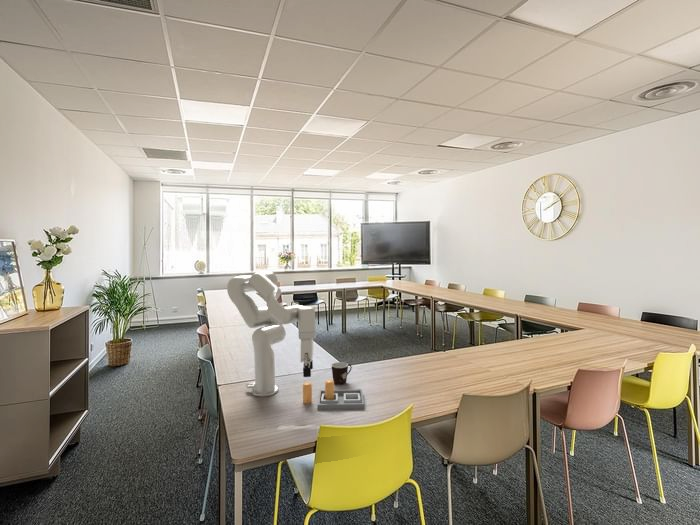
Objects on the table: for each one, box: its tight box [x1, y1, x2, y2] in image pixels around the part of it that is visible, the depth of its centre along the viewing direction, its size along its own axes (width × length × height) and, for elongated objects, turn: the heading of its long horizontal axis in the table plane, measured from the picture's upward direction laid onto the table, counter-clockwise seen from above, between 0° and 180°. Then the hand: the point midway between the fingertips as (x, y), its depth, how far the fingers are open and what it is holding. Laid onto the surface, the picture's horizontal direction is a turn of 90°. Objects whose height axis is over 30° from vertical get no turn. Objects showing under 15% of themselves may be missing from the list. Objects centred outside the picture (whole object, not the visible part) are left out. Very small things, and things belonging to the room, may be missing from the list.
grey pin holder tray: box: [316, 389, 365, 411], centre depth 153 cm, size 20×15×3 cm
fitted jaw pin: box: [324, 379, 335, 400], centre depth 152 cm, size 4×4×9 cm
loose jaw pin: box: [302, 381, 313, 405], centre depth 152 cm, size 4×4×9 cm
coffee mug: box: [330, 361, 353, 386], centre depth 175 cm, size 12×9×10 cm
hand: (308, 372), depth 151 cm, fingers open, 9 cm apart
